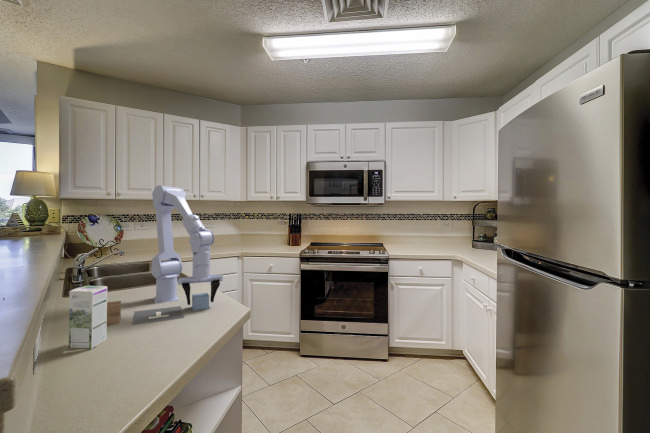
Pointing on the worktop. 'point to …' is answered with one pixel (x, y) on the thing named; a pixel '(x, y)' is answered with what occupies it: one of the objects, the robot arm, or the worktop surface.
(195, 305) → the blue cube
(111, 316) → the walnut block
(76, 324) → the syrup box
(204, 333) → the worktop surface
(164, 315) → the letter mat
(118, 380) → the worktop surface
